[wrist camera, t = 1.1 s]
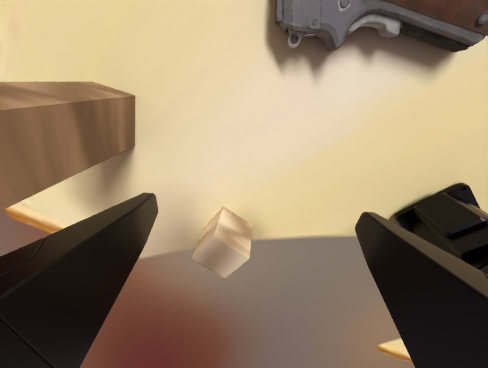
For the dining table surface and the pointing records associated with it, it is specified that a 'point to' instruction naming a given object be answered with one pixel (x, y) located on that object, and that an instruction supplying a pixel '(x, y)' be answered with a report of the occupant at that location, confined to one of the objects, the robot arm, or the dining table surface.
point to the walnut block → (58, 133)
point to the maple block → (224, 243)
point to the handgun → (386, 20)
